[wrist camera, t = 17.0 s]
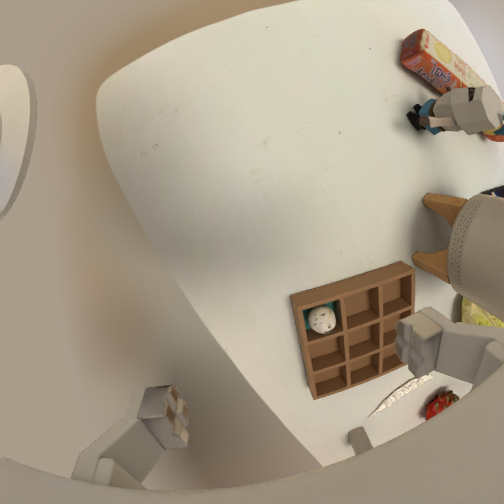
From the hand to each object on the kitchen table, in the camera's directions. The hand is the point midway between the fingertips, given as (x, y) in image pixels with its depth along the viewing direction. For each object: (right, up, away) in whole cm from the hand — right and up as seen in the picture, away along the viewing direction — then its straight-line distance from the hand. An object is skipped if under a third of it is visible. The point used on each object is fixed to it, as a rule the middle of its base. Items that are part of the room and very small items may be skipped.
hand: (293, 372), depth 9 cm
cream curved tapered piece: (+26, -22, +32) cm, 47 cm away
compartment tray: (+13, -7, +26) cm, 30 cm away
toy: (+21, +22, +20) cm, 36 cm away
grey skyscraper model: (+20, -33, +34) cm, 51 cm away
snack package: (+28, +28, +18) cm, 44 cm away
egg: (+7, -3, +24) cm, 25 cm away
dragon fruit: (+39, -29, +35) cm, 60 cm away
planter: (+26, +7, +24) cm, 36 cm away
